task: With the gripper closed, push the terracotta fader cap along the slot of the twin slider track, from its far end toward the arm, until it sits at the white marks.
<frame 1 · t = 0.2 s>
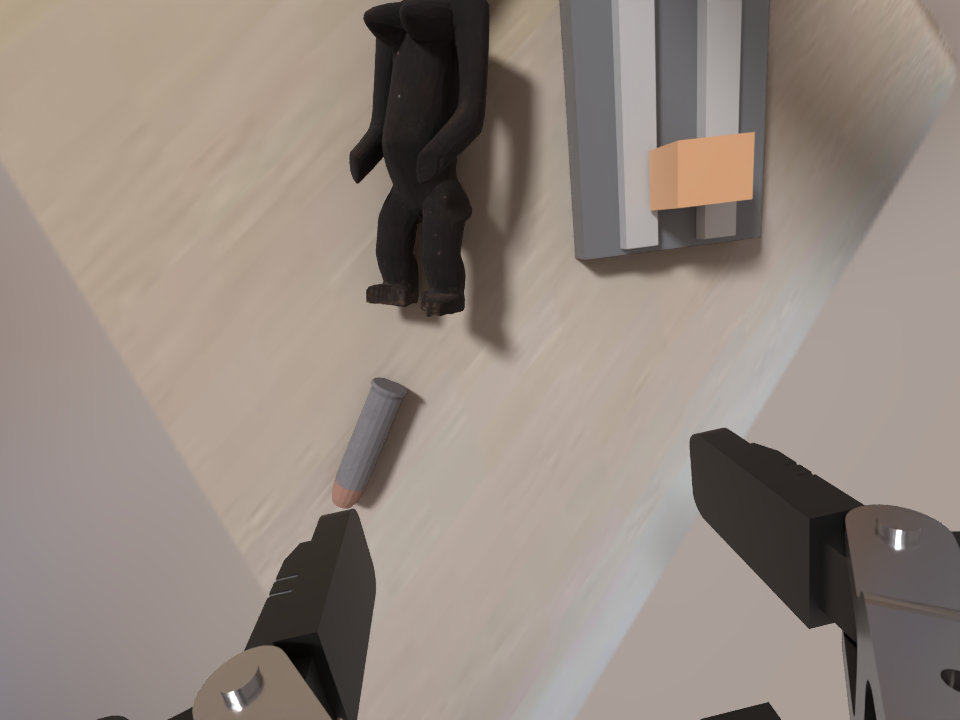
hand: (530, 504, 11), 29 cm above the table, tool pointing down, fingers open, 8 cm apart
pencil: (368, 436, 41), on the table
twin slider track: (656, 69, 36), on the table
figurine: (416, 95, 35), on the table
fader: (694, 175, 33), point 5 cm above the table, slide at 8.0 cm
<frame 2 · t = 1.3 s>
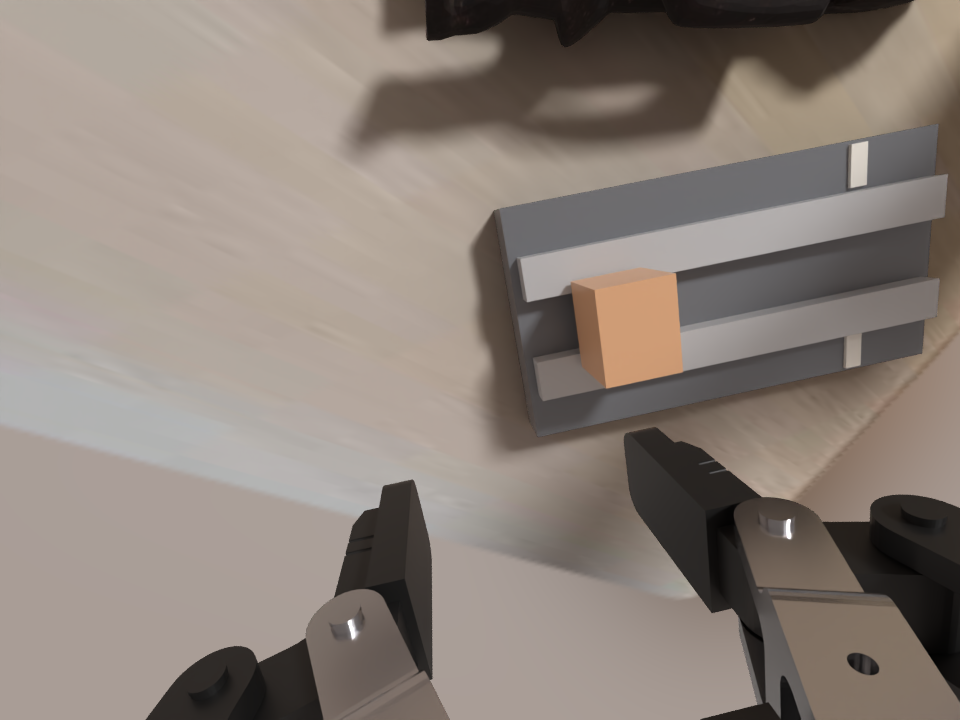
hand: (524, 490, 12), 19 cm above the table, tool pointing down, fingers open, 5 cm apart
twin slider track: (706, 283, 31), on the table
fader: (619, 322, 26), point 5 cm above the table, slide at 8.0 cm
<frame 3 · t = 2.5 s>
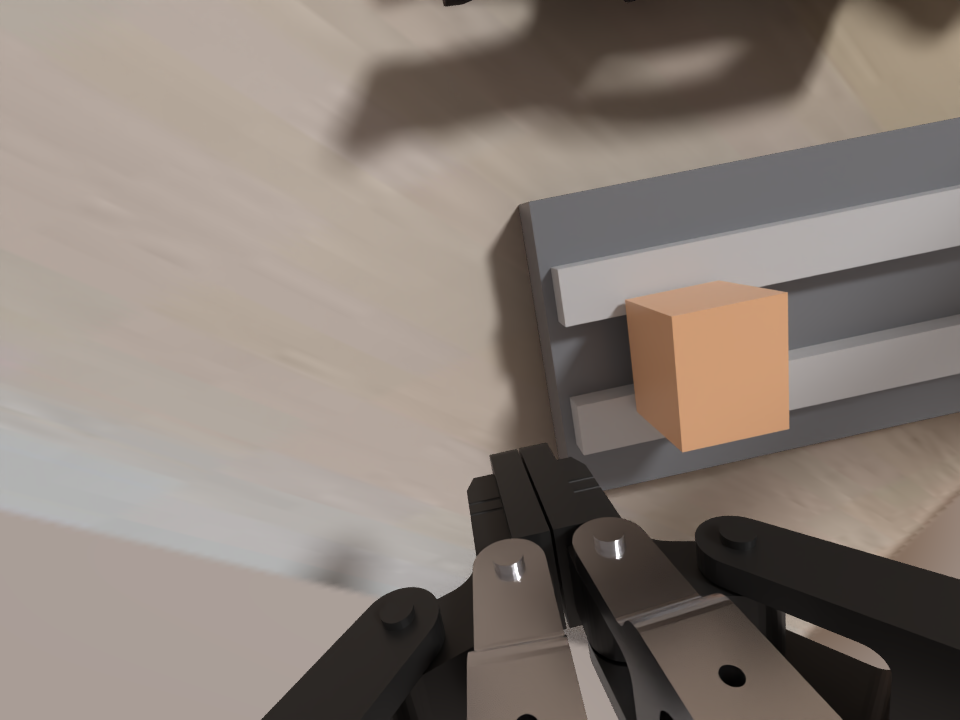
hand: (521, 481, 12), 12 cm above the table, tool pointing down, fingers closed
twin slider track: (789, 297, 24), on the table
fader: (693, 356, 19), point 5 cm above the table, slide at 8.0 cm
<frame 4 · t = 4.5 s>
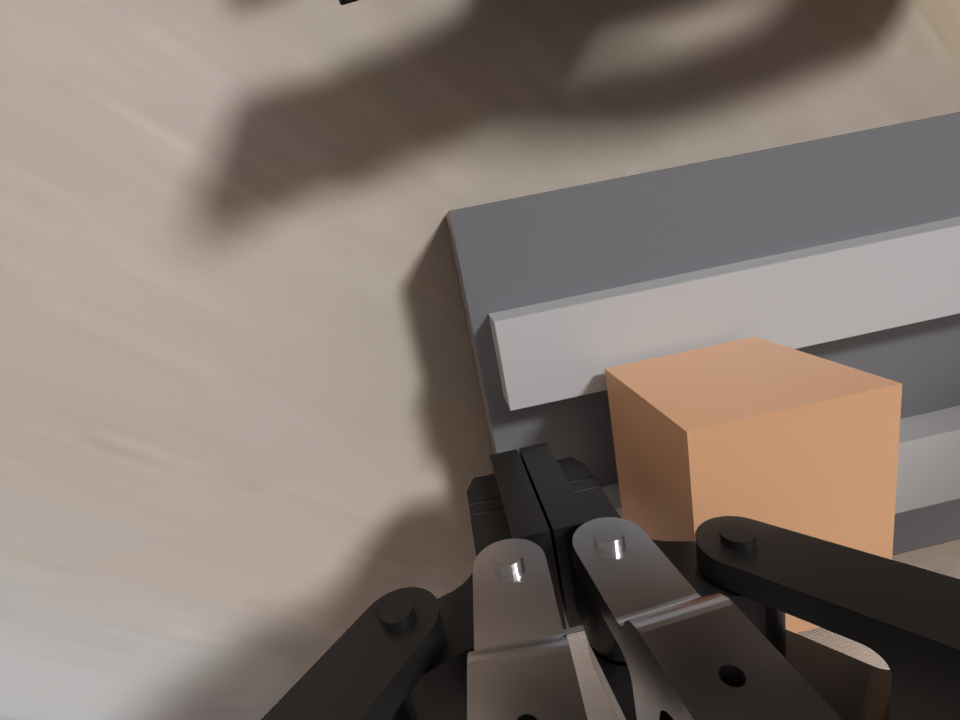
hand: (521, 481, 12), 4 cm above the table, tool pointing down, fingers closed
twin slider track: (841, 346, 17), on the table
fader: (717, 464, 12), point 5 cm above the table, slide at 8.0 cm, touching gripper
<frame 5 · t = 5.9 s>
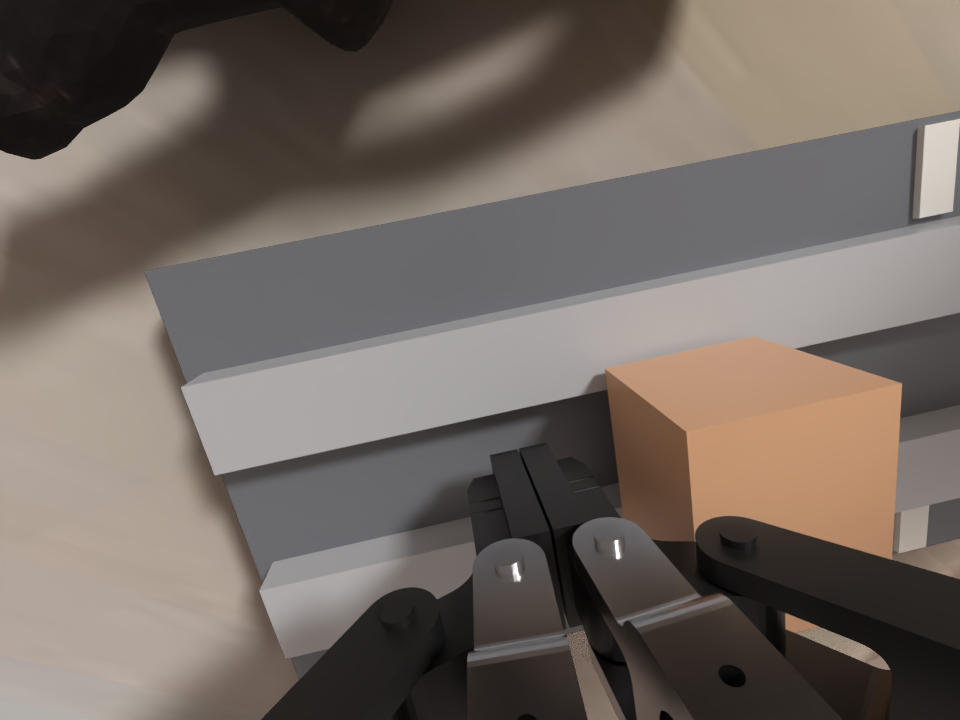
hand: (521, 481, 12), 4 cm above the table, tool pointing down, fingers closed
twin slider track: (635, 390, 17), on the table
fader: (717, 464, 12), point 5 cm above the table, slide at 0.3 cm, touching gripper
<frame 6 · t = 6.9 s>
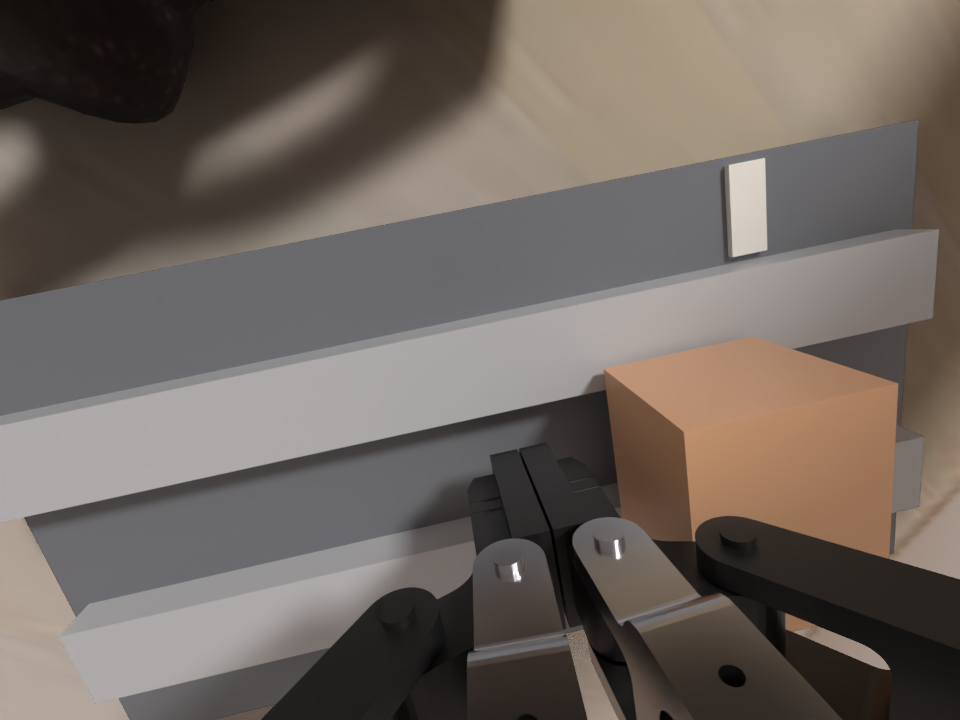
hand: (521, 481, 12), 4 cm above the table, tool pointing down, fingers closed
twin slider track: (484, 423, 17), on the table
fader: (715, 464, 12), point 5 cm above the table, slide at -5.1 cm, touching gripper
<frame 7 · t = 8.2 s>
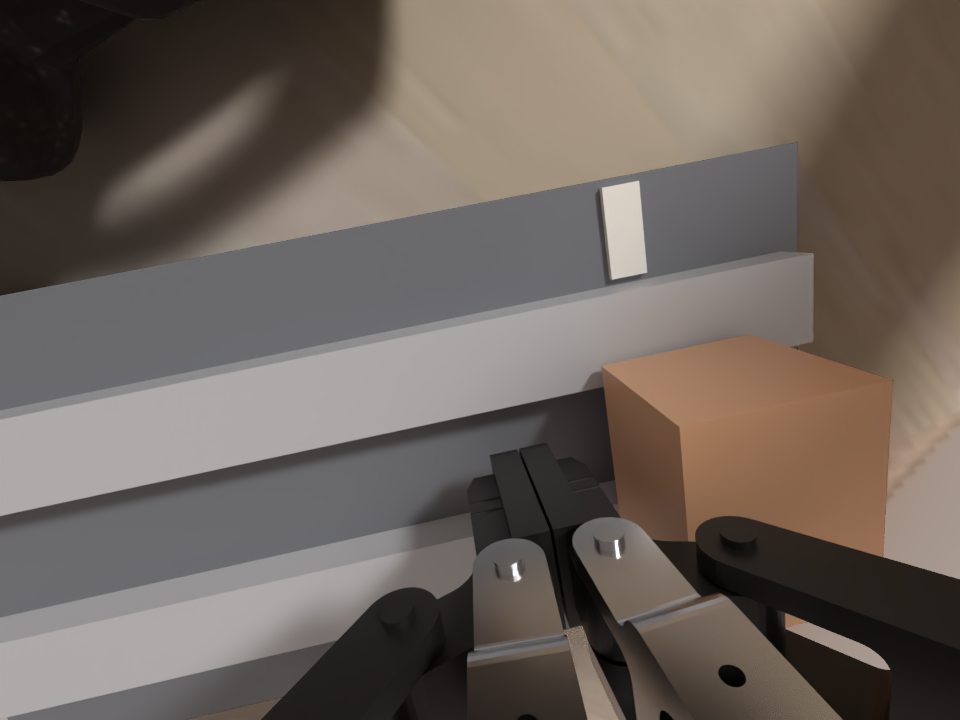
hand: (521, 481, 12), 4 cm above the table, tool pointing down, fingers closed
twin slider track: (386, 441, 16), on the table
fader: (711, 460, 12), point 5 cm above the table, slide at -8.5 cm, touching gripper
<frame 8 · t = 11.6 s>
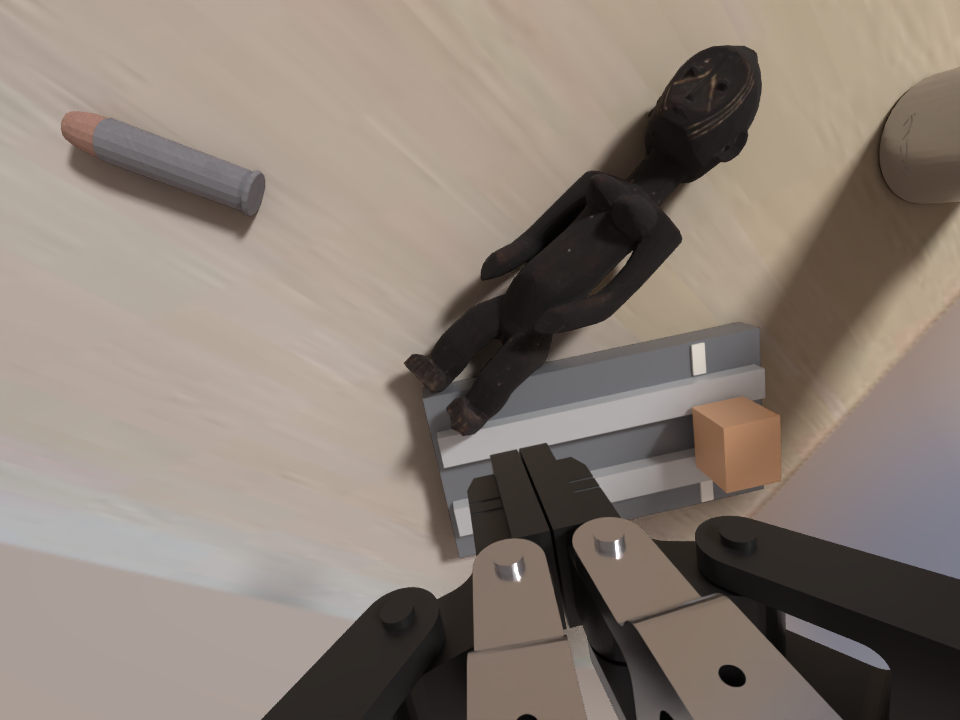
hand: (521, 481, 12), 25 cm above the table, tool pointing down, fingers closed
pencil: (180, 165, 32), on the table
twin slider track: (594, 434, 40), on the table
figurine: (569, 239, 36), on the table
fader: (730, 439, 35), point 5 cm above the table, slide at -8.5 cm
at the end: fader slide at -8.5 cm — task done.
